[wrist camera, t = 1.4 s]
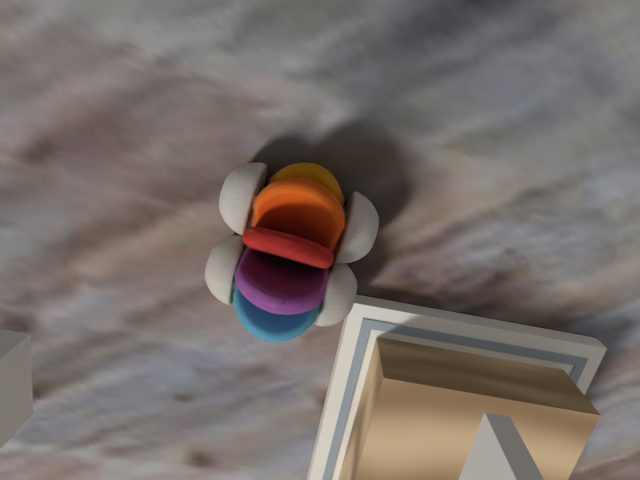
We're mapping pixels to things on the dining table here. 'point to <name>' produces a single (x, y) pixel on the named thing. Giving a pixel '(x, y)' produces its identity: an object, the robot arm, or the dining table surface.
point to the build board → (442, 332)
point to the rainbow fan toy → (289, 248)
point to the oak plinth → (459, 413)
